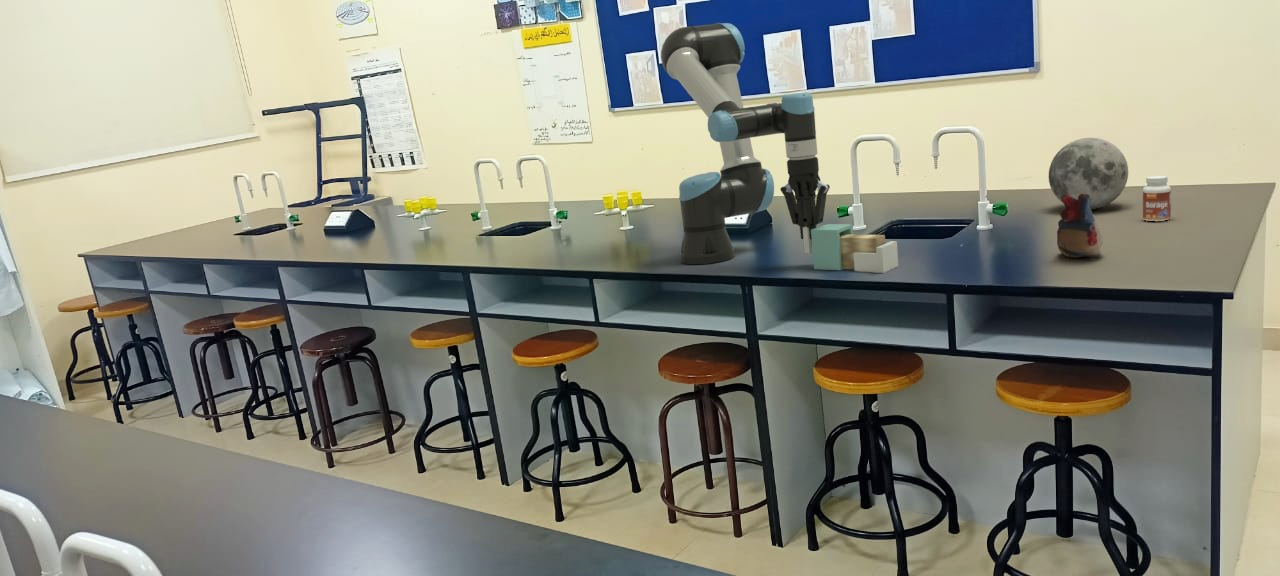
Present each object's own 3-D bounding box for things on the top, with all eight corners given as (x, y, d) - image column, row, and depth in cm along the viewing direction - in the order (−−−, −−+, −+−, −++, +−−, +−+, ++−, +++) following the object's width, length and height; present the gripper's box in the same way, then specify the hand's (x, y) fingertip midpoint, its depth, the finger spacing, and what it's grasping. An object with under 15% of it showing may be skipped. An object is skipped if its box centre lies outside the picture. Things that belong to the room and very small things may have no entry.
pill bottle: (1142, 223, 232) (1142, 179, 229) (1142, 218, 237) (1142, 175, 234) (1171, 222, 229) (1171, 177, 226) (1170, 217, 234) (1170, 174, 231)
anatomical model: (1105, 250, 208) (1104, 184, 204) (1100, 263, 197) (1099, 193, 194) (1060, 251, 212) (1058, 187, 209) (1053, 263, 202) (1051, 195, 199)
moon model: (1070, 202, 272) (1068, 135, 268) (1141, 204, 256) (1140, 132, 252) (1036, 214, 260) (1033, 144, 256) (1108, 216, 244) (1107, 141, 240)
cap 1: (814, 269, 225) (810, 229, 223) (829, 262, 231) (826, 224, 229) (840, 270, 221) (836, 230, 218) (855, 263, 226) (852, 224, 224)
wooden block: (827, 269, 225) (824, 237, 223) (835, 265, 228) (832, 234, 226) (878, 271, 215) (876, 238, 214) (887, 268, 218) (884, 235, 217)
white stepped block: (854, 271, 218) (852, 246, 217) (869, 264, 223) (868, 240, 222) (883, 273, 213) (881, 247, 212) (898, 266, 218) (896, 241, 217)
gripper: (771, 160, 226) (779, 254, 231) (817, 158, 217) (825, 255, 222) (788, 156, 231) (796, 248, 236) (833, 154, 223) (840, 249, 228)
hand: (810, 251), depth 229 cm, fingers closed
